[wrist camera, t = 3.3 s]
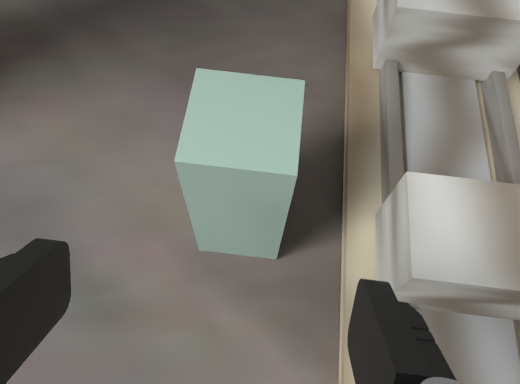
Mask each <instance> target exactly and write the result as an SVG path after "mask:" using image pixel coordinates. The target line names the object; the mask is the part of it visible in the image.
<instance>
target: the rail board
mask: <svg viewBox="0 0 520 384" xmlns="http://www.w3.org/2000/svg"><path fill="white" fill-rule="evenodd" d="M519 65H520V0H348V4H347V46H346V89H345V132H344V174H343V217H342V260H341V303H340V345H339V384H355V380H354V375H353V371H352V366H351V362H350V357H349V353H348V345H347V337H348V328H349V322H350V318H351V313H352V308H353V303H354V298H355V294H356V289H357V285H358V282H359V280H360V279H369V280H377V281H386V282H389V283H390V285H391V287H392V289H393V291H394V293H395V295H396V298H397V300H398V302H406V303H409V304H410V305H411V306H412V307H413V308H414V309H415V310H416V311H418V312H419V313H420V314H421V315H422V317H423V319H424V320H425V322H426V324H427V326H428V328H429V332H431V333H432V335H433V337H434V339H435V343H437V345H438V346H439V348H440V350H441V352H442V354H443V356H444V358H445V360H446V361H447V363H448V365H449V367H450V369H451V371H452V373H453V374H454V376H455V378H456V380H457V381H458V382H461V383H463V384H520V80H519V75H518V71H517V67H518V66H519Z"/></svg>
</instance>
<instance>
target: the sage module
mask: <svg viewBox="0 0 520 384" xmlns="http://www.w3.org/2000/svg"><path fill="white" fill-rule="evenodd" d="M304 87H305V80H296V79H288V78H279V77H270V76H261V75H252V74H244V73H235V72H226V71H217V70H208V69H200V68H196V72H195V76H194V80H193V85H192V89H191V93H190V97H189V102H188V106H187V110H186V114H185V118H184V123H183V127H182V131H181V135H180V139H179V144H178V148H177V152H176V156H175V160H174V162H175V166H176V169H177V173H178V176H179V180H180V184H181V187H182V191H183V194H184V198H185V201H186V205H187V209H188V212H189V216H190V219H191V223H192V226H193V230H194V234H195V237H196V241H197V244H198V248H199V250H202V251H211V252H219V253H227V254H236V255H244V256H252V257H261V258H269V259H277V255H278V251H279V247H280V243H281V239H282V235H283V231H284V227H285V223H286V219H287V215H288V211H289V207H290V203H291V199H292V195H293V191H294V187H295V183H296V179H297V174H298V162H299V150H300V137H301V125H302V112H303V100H304Z"/></svg>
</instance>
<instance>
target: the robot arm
mask: <svg viewBox="0 0 520 384" xmlns="http://www.w3.org/2000/svg"><path fill="white" fill-rule="evenodd" d="M70 297H71V278H70V253H69V246H68V244H67V243H66V242H64V241H56V240H48V239H40V238H37V239H34V240H33V241H31V242H30V243H29V244H27V245H26V246H25V247H23V248H22V249H21V250H19V251H18V252H16V253H15V254H14V253H13V254H10V255H8V256H5V257H3V258H0V384H6V383H7V381H8V380H9V379H10V378H11V377H12V375H13V374H14V373H15V372H16V371H17V370H18V368H19V367H20V366H21V365H22V364H23V362H24V361H25V360H26V359H27V358H28V357H29V355H30V354H31V353H32V352H33V351H34V349H35V348H36V347H37V346H38V345H39V343H40V342H41V341H42V340H43V339H44V338H45V336H46V335H47V334H48V333H49V332H50V330H51V329H52V328H53V327H54V326H55V325H56V323H57V322H58V321H59V320H60V319H61V317H62V316H63V315H64V314H65V312H66V310H67V308H68V305H69V302H70ZM347 345H348V353H349V357H350V362H351V366H352V371H353V375H354V380H355V384H463V383H461V382H458V381H457V380H456V378H455V376H454V374H453V373H452V371H451V369H450V367H449V365H448V363H447V361H446V360H445V358H444V356H443V354H442V352H441V350H440V348H439V346H438V345H437V343H435V339H434V337H433V335H432V333H431V332H429V328H428V326H427V324H426V322H425V320H424V319H423V317H422V315H421V314H420V313H419V312H418V311H416V310H415V309H414V308H413V307H412V306H411V305H410V304H409V303H406V302H398V300H397V298H396V295H395V293H394V291H393V289H392V287H391V285H390V283H389V282H386V281H377V280H369V279H360V280H359V282H358V285H357V289H356V294H355V298H354V303H353V308H352V313H351V318H350V322H349V328H348V337H347Z"/></svg>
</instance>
